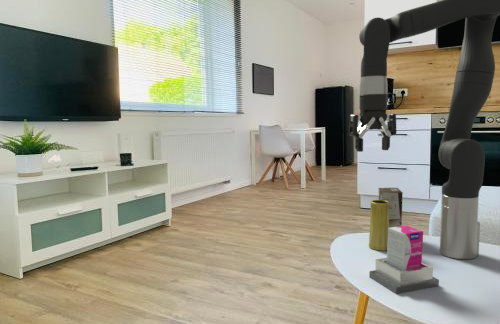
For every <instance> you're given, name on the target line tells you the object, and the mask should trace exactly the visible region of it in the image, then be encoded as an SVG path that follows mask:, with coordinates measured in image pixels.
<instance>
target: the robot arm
mask: <svg viewBox="0 0 500 324" xmlns="http://www.w3.org/2000/svg"><path fill="white" fill-rule="evenodd" d="M499 16H500V0H439V1H437V2H436V1H435V2H433V3H428V4H425V5H422V6H419V7H414V8H411V9H407V10H404V11H402V12H398V13H397V14H396V15H394V16H392V17H390V18H386V19H384V18H383V17H373V18H372V19H369V20H368V21H367V22H366V23H365V24H364V26H363V27H362V28H361V29H360V31H359V42H360V44H361V45H362V46H363V54H362V55H363V56H362V57H361V60H360V61H361V62H360V82H359V104H358V105H359V111H360V113H359V114H350V115H349V122H348V123H349V125H348V135H349V136H350V137H353V138H354V141H355V142H354V148H355V150H356V152H358V153H359V152H360V153H361V152H364V135H365V133H367V132H368V131H370V130H377V131H378V132H379V133H380V134H381V136H382V137H381V150H382V151H389V150H390V147H391V137H393V136H395V135H396V134H397V115H396V113H387V110H388V91H389V90H388V77H387V76H388V63H387V62H388V54H389V48H390V44H391V43H393V42H395V41H398V40H401V39H407V38H411V37H414V36H418V35H422V34H425V33H427V32H431V31H433V30H436V29H438V28H441V27H443V26H446V25H448V24H451V23H455V22H457V21H460V20H463V19H465V21H464V34H463V38H462V39H463V40H462V45H461V49H460V53H459V59H458V64H457V68H456V71H455V72H456V73H455V76H454V83H453V91H452V96H451V99H450V100H451V101H450V106H449V111H448V116H447V121H446V125H445V128H444V131H443V134H442V138H441V140H440V145H439V148H438V160H439V163H440V164H441V165H442V166H443V167H444V168H446V169H447V170H449V177H448V180H447V181H446V182H444V183H443V184H442V186H441V202H440V203H441V206H440V208H441V209H440V211H441V212H440V231H439V232H440V233H439V234H440V236H439V253H440V254H441V255H443V256H446V257H448V258H452V259H458V260H473V259H475V258H476V257H477V256H479V254H480V235H481V234H480V233H481V223H480V222H479V220H478V219H479V217H478V216H479V195H480V190H481V188H482V186H483V182H484V174H485V164H486V163H485V162H486V155H485V150H484V148H483V146H482V144H481V143H480V142H478V141H477V140H475V139H471V136H472V132H473V131H472V130H473V125H474V123H475V121H476V118H477V116H478V115H479V113H480V111H482V108H483V107H484V106H485V104H486V102H487V101H488V99H489V96H490V95H491V91H492V87H493V83H494V78H495V73H496V72H495V71H496V62H495V61H496V60H495V57H494V52H493V45H492V38H493V34H494V33H493V32H494V29H495V24H496V21H497V18H498V17H499ZM386 121H387V123H386ZM359 122H360V124H359ZM358 124H359V125H358Z"/></svg>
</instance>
